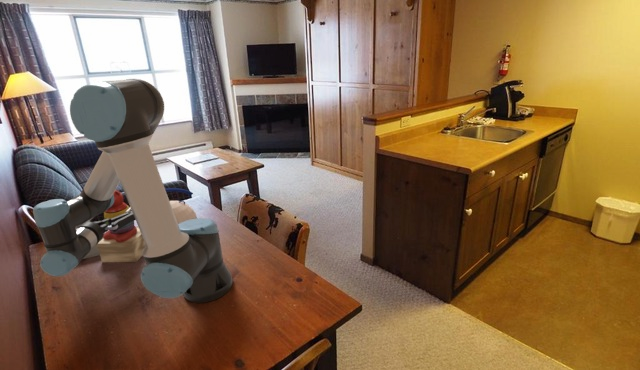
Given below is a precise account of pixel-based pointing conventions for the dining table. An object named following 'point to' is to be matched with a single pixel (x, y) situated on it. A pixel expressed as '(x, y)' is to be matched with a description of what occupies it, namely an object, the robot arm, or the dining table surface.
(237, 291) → the dining table surface
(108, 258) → the birch block
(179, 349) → the dining table surface
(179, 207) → the kettle
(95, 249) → the stoneware block
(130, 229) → the stacking bear
